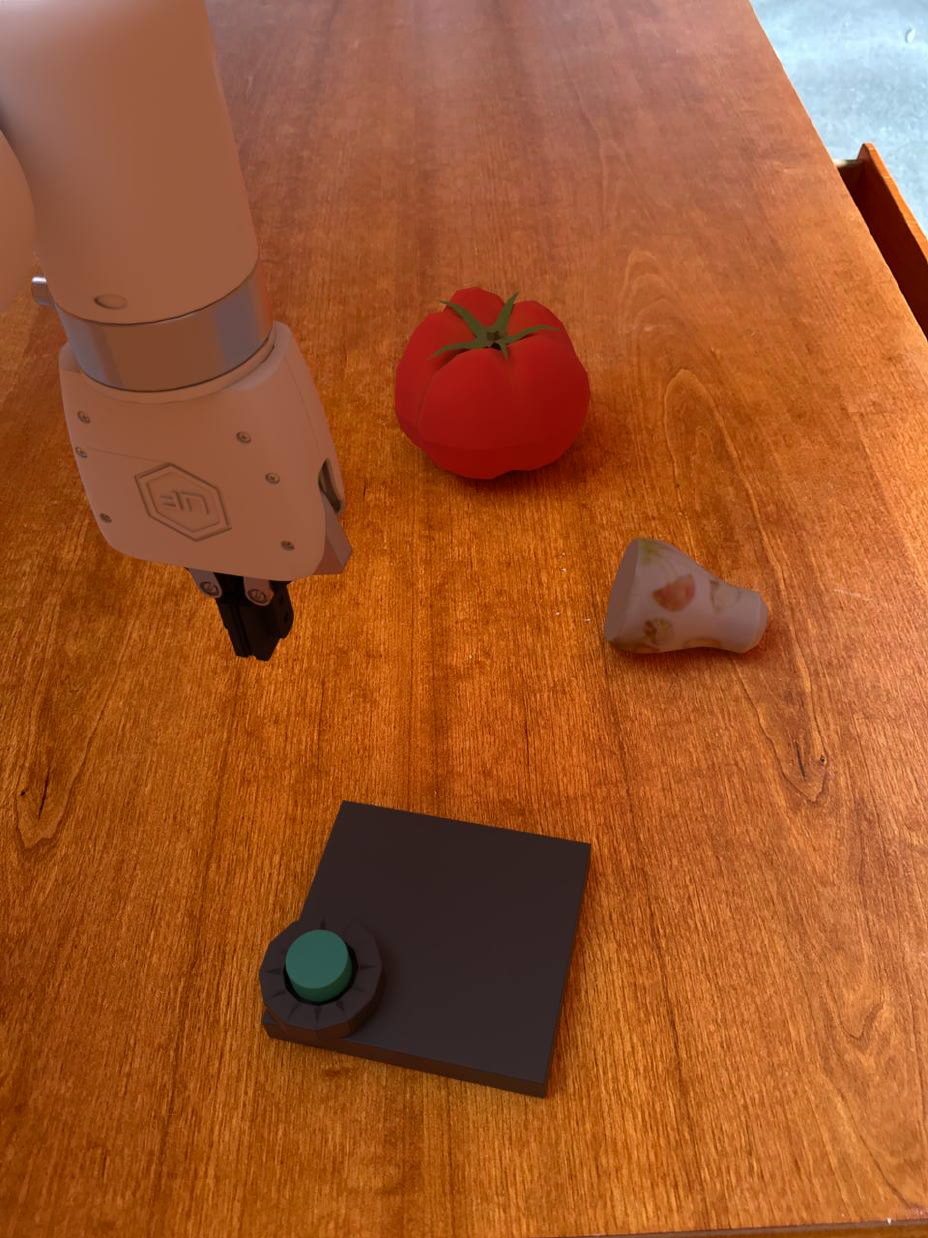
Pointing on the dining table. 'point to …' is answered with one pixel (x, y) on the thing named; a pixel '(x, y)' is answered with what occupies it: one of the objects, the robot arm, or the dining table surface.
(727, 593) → the white floral vase
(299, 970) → the button
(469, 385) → the tomato
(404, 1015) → the scale
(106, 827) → the dining table surface
